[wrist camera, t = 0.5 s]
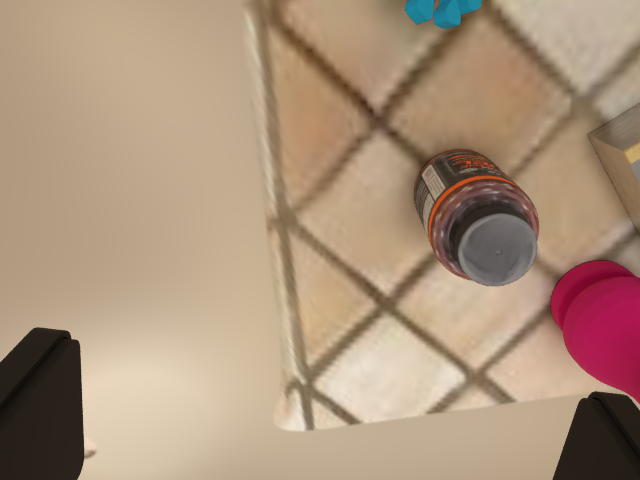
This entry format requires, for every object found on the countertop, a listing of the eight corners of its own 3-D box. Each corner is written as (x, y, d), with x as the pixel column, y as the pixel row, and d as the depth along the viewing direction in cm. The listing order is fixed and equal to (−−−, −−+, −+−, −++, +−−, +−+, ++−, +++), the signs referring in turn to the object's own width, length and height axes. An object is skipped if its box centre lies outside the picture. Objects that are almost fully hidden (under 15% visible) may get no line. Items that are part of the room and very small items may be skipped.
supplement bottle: (510, 155, 39) (577, 207, 28) (485, 237, 41) (539, 314, 30) (423, 139, 38) (457, 185, 28) (403, 222, 40) (427, 295, 30)
